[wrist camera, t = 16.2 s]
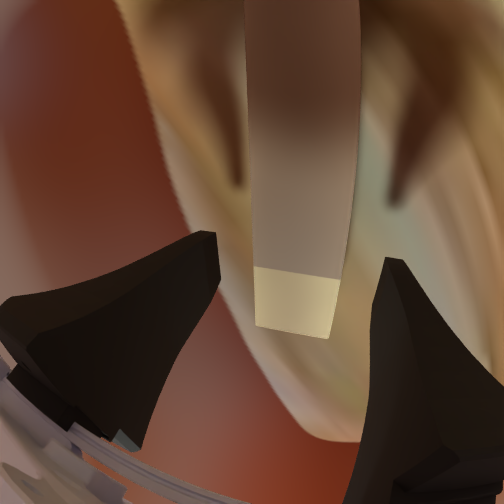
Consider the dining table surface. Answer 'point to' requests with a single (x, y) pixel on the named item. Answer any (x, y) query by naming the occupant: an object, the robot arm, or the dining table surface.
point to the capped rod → (301, 154)
